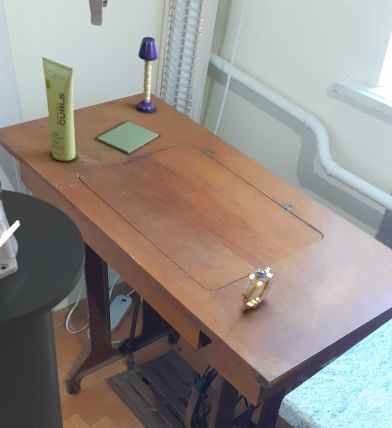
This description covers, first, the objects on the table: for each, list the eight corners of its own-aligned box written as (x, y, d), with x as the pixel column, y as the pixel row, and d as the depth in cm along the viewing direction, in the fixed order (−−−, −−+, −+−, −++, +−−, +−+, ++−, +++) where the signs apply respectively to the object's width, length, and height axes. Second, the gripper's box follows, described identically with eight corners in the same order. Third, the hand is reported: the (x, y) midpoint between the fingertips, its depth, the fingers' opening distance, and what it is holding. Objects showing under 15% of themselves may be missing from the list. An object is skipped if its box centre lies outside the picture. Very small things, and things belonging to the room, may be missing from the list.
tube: (49, 161, 116) (41, 66, 102) (49, 149, 119) (42, 55, 105) (76, 162, 117) (72, 68, 103) (75, 150, 121) (71, 57, 106)
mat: (128, 153, 123) (128, 152, 122) (97, 139, 125) (97, 137, 125) (158, 135, 130) (158, 134, 130) (128, 122, 133) (128, 121, 132)
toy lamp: (152, 114, 137) (157, 43, 125) (134, 111, 137) (137, 40, 124) (155, 106, 140) (160, 36, 128) (137, 103, 140) (141, 33, 128)
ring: (259, 293, 96) (270, 258, 90) (272, 303, 95) (284, 268, 89) (232, 308, 93) (240, 272, 87) (244, 319, 91) (254, 284, 86)
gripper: (87, -104, 88) (87, -7, 98) (69, -78, 75) (72, 32, 85) (125, -98, 89) (122, -2, 99) (115, -70, 75) (113, 38, 85)
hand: (99, 14), depth 92 cm, fingers open, 8 cm apart
